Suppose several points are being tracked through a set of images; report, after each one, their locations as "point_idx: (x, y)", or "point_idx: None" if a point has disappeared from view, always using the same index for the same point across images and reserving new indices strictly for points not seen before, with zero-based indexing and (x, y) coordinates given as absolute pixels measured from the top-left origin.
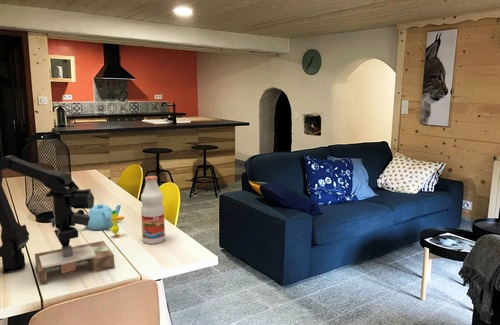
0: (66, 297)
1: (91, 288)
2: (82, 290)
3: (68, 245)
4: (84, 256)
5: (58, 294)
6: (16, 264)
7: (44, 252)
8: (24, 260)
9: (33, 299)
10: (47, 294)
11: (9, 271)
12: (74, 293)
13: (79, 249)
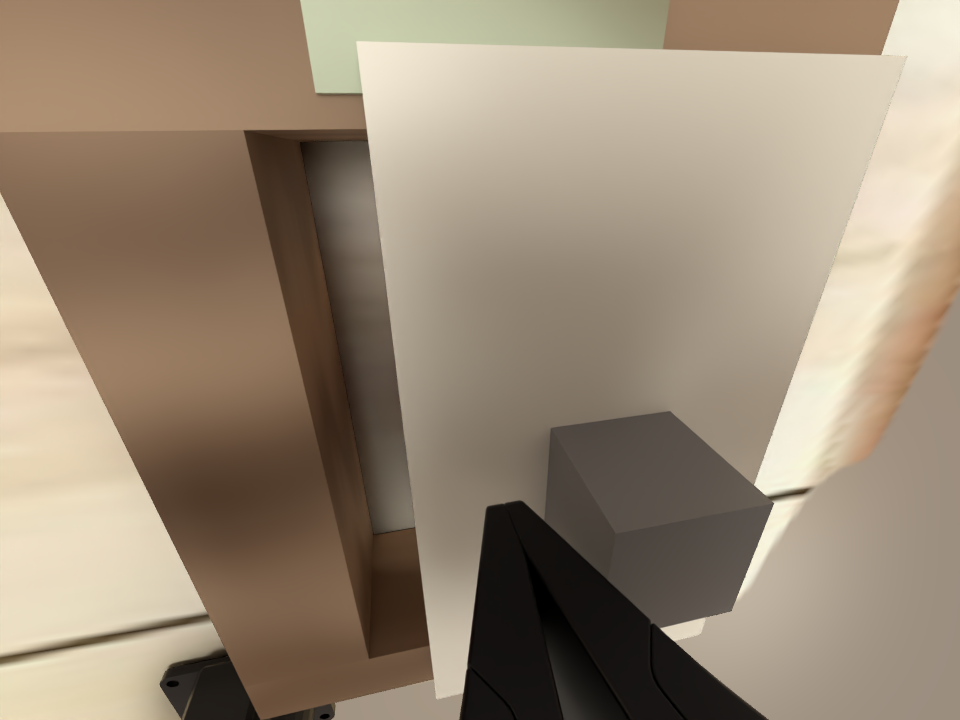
0: (888, 384)
1: (932, 222)
2: (900, 288)
3: (585, 563)
4: (807, 262)
5: (818, 424)
6: (303, 717)
7: (247, 663)
8: (251, 703)
9: (765, 526)
10: (770, 475)
11: None
12: (888, 339)
13: (459, 308)
